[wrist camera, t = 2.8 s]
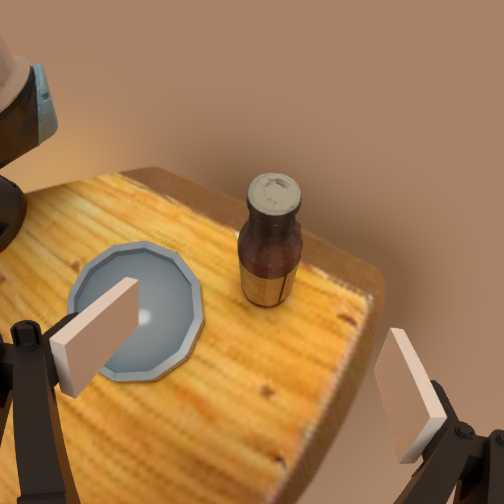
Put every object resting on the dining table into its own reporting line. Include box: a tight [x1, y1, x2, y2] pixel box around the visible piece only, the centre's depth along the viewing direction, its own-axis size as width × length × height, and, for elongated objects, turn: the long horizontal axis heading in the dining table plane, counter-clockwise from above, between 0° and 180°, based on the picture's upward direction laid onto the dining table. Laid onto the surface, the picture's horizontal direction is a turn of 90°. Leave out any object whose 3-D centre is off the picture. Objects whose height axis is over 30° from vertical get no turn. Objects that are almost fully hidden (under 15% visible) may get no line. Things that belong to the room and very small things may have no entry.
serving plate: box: [67, 241, 205, 383], centre depth 38 cm, size 18×18×2 cm
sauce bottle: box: [237, 173, 303, 307], centre depth 32 cm, size 6×6×20 cm
